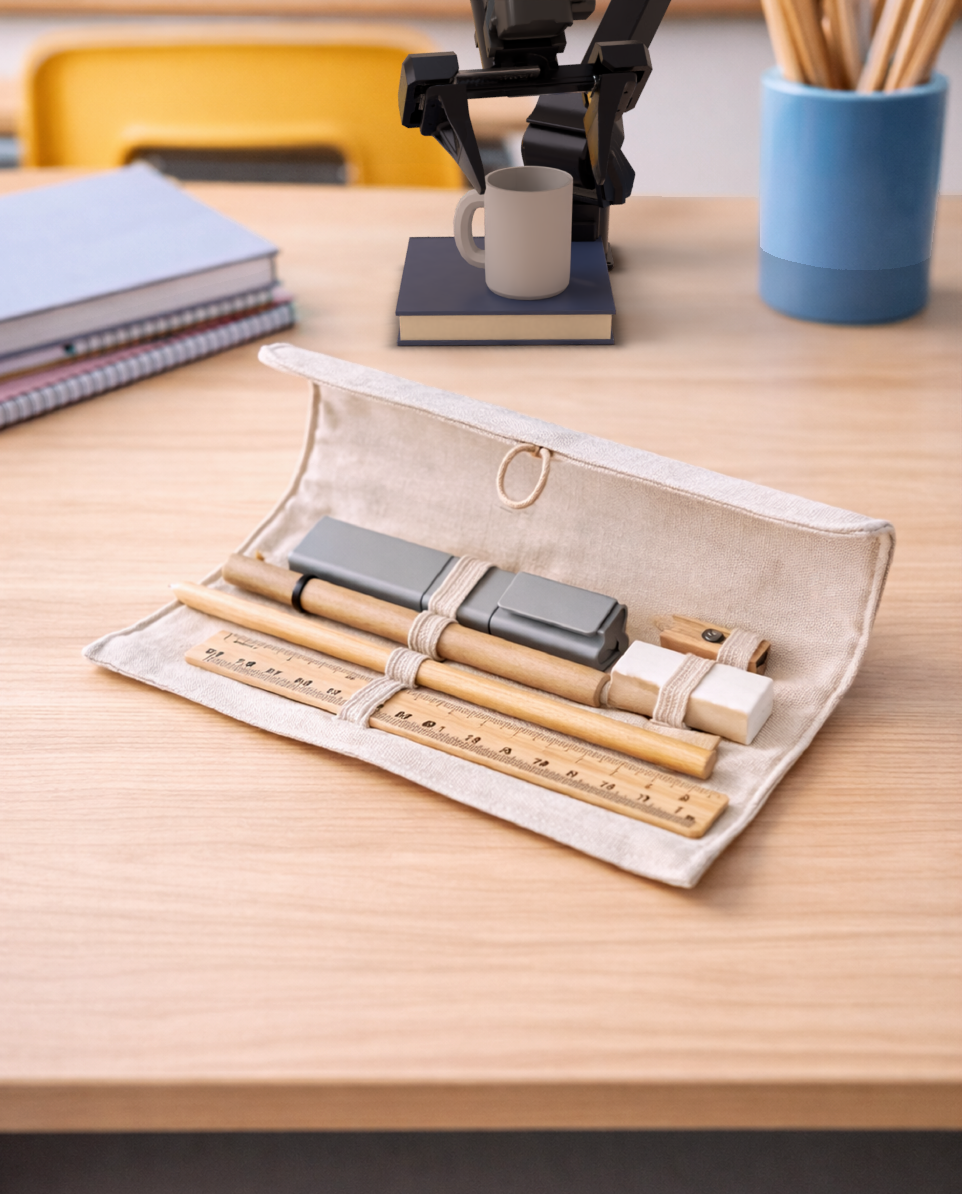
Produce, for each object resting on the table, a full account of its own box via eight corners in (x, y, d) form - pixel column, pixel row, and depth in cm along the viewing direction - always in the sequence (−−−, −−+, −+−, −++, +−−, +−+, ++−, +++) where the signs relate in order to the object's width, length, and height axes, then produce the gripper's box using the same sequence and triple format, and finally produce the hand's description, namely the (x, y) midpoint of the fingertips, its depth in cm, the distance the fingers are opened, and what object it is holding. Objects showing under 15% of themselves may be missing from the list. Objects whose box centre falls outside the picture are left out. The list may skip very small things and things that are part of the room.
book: (410, 267, 114) (409, 236, 112) (599, 266, 113) (601, 235, 112) (397, 345, 99) (395, 311, 97) (614, 344, 99) (615, 310, 97)
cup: (561, 304, 98) (564, 195, 93) (444, 295, 100) (440, 187, 95) (576, 273, 104) (580, 168, 99) (465, 265, 106) (462, 162, 100)
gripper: (395, -72, 82) (431, 137, 80) (653, -83, 85) (695, 117, 83) (384, 31, 93) (416, 217, 90) (613, 18, 96) (649, 197, 94)
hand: (542, 187), depth 89 cm, fingers open, 9 cm apart
